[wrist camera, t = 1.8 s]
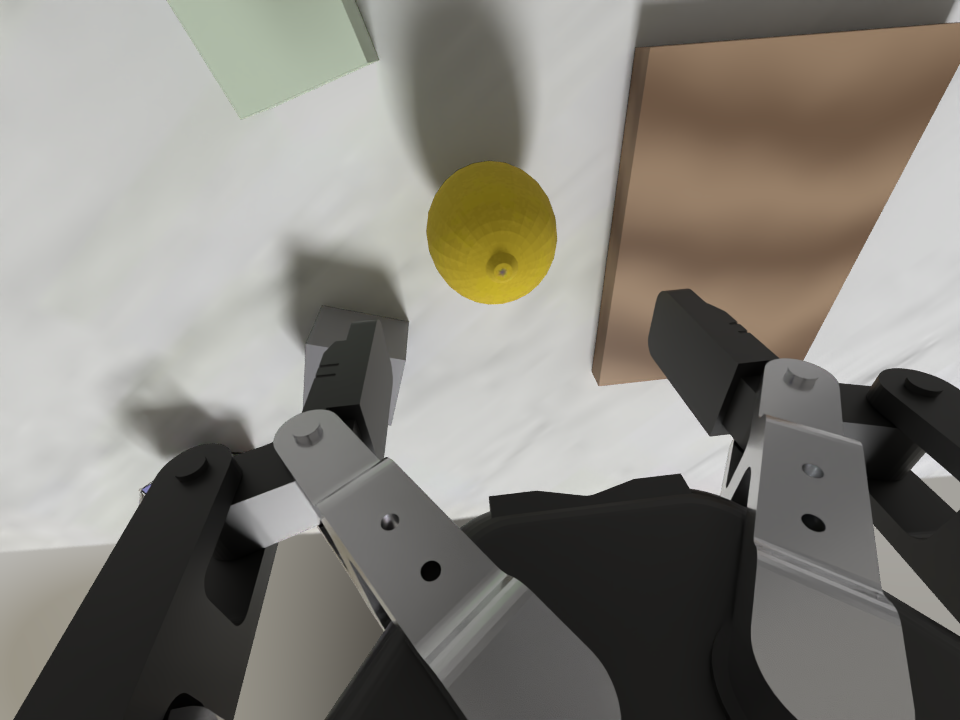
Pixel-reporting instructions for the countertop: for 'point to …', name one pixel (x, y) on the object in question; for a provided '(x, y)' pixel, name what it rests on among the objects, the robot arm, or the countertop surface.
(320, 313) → the gray block
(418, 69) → the countertop surface
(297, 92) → the sage block
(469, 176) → the lemon
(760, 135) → the walnut board
